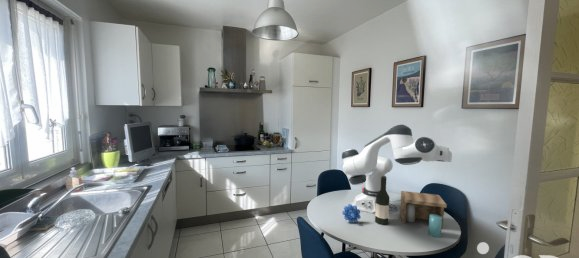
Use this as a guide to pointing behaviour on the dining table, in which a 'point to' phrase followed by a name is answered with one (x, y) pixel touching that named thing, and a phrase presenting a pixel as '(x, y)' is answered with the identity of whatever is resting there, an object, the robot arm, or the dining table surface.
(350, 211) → the blue knobby ball
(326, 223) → the dining table surface
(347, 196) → the dining table surface
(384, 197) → the wine bottle
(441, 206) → the cubby
